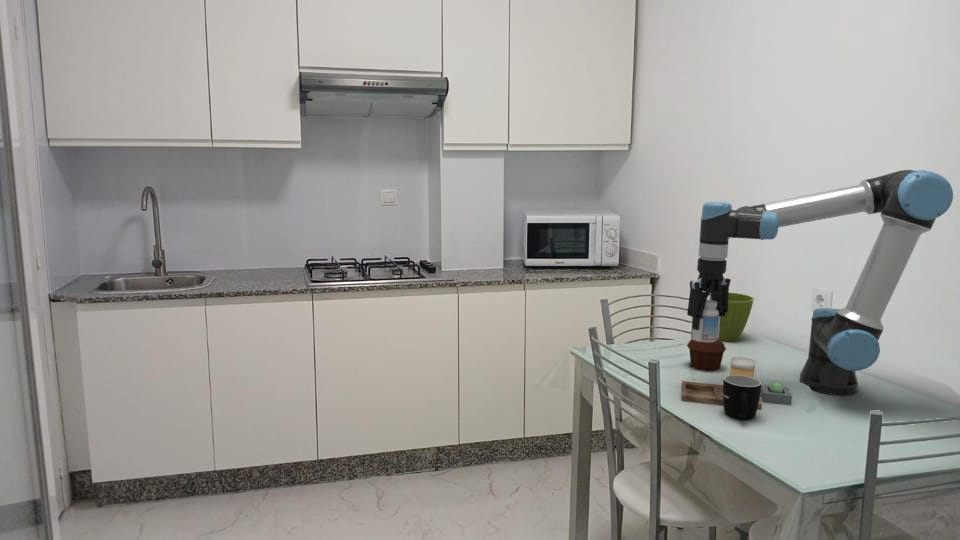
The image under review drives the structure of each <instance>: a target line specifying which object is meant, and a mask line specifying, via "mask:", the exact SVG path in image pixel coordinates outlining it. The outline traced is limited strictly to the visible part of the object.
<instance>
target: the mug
mask: <svg viewBox="0 0 960 540" xmlns="http://www.w3.org/2000/svg"><path fill="white" fill-rule="evenodd" d="M722 385H723V404H724V406H723V410H724V414H725V415H726V416H727V417H729V418H731V419H733V420H734V419H735V420H741V421H750V420H753V419H755V416H756V415H757V412H758V410H757V408H758V404H759V399H760V400H761V395H760V392H761V385H762V381H760V380H759V379H757V377H756V378H755V377H754V378H753V377H750V376H745V375H730V374H728V375H725V376H724V377H723V381H722Z"/></svg>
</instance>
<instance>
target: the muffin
mask: <svg viewBox="0 0 960 540" xmlns="http://www.w3.org/2000/svg"><path fill="white" fill-rule="evenodd" d="M723 342H724V341H722V340H719V339H717V340H716V341H715V342H710V343H708V342H698V341H695V340H692V338H691V339H690V341H688V342H687V345H686V347H687V348H688V349H689V350H688V351H689V357H690V358H689V359H690V366H691V368H693V369H695V370H696V371H702V372H703V371H704V372H716V371H719V370H720V369H721V366H722V360H723V357H724V353H725V351H726V350H727V348H726V346H725V344H724V343H723Z"/></svg>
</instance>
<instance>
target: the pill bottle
mask: <svg viewBox="0 0 960 540" xmlns="http://www.w3.org/2000/svg"><path fill="white" fill-rule="evenodd" d="M716 307H717V301H714V300H710V299H707V301H706V304H705V307H704V310H703V313H702V317H701V318H702V319H703V330H702V342H708V343H710V342H715V341H716V340H717V333H718V320H719V312H718V310H716ZM697 314H698V313H697Z"/></svg>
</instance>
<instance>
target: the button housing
mask: <svg viewBox="0 0 960 540" xmlns="http://www.w3.org/2000/svg"><path fill="white" fill-rule="evenodd" d="M769 387H770V384H768V385H767V384H761V392H760V399H761V402H762V403H767V404H768V403H769V404H777V405H785V406H792V402H793V401H792V400H793V395H792V392H791V390H790V388H789V387H787V386H783V393H774V392H769Z"/></svg>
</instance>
